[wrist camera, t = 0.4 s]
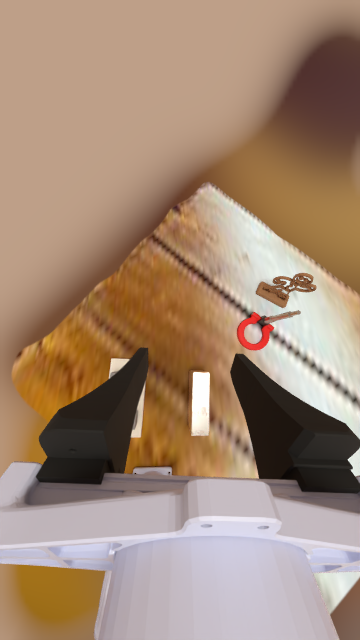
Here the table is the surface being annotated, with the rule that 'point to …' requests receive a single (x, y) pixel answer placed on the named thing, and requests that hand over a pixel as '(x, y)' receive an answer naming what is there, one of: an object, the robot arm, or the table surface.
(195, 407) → the white long rectangular piece
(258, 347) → the tow hook
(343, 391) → the table surface
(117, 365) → the peg rack
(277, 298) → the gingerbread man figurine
